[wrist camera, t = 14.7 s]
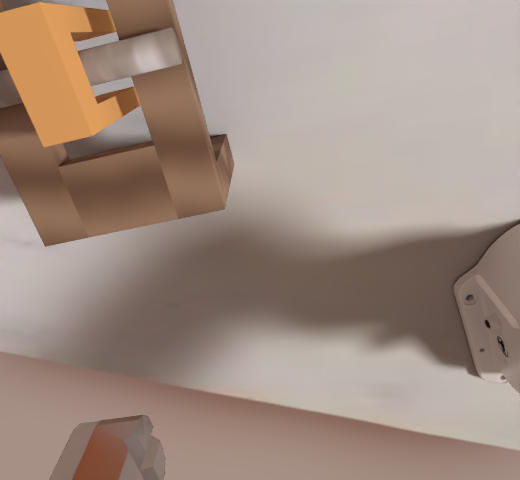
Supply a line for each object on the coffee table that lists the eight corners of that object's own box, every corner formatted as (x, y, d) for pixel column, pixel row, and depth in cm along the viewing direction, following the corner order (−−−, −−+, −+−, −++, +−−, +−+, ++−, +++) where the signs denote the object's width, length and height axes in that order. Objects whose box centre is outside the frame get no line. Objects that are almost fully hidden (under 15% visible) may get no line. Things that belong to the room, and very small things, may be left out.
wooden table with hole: (234, 164, 41) (222, 219, 29) (99, 193, 43) (32, 259, 30) (164, -113, 32) (101, -210, 20) (-5, -64, 33) (-166, -126, 21)
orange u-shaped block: (73, 20, 32) (-16, 16, 21) (110, 10, 31) (39, 2, 21) (107, 112, 34) (43, 147, 24) (142, 103, 34) (92, 135, 24)
